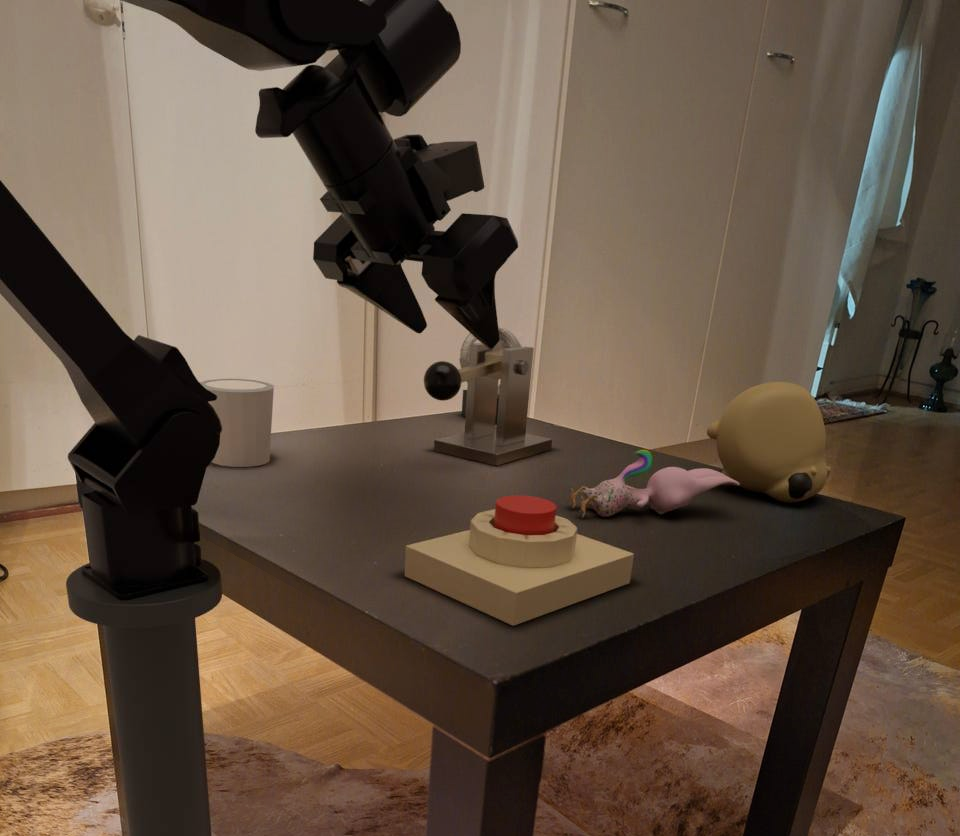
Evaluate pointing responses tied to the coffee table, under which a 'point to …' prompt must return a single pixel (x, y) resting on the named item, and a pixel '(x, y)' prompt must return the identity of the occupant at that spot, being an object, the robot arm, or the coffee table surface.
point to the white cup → (242, 421)
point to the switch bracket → (512, 412)
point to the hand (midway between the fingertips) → (457, 337)
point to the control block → (517, 568)
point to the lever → (459, 375)
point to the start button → (525, 515)
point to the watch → (506, 342)
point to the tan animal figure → (773, 442)
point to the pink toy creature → (650, 488)
